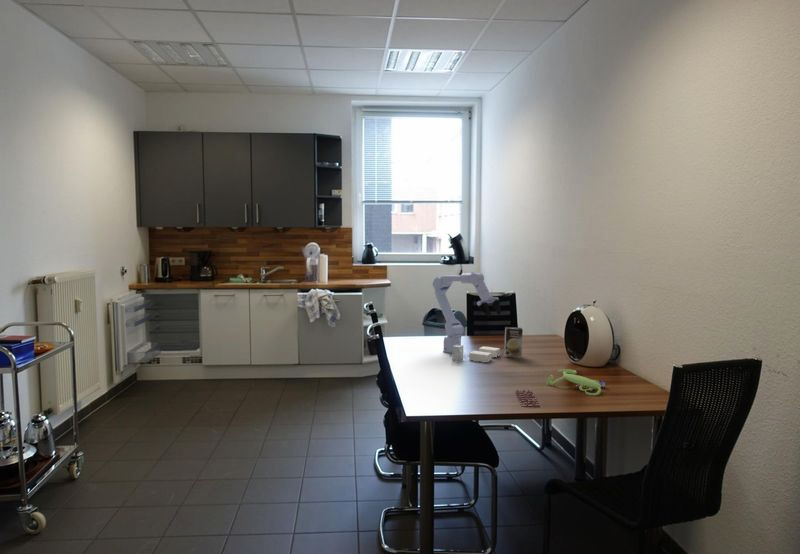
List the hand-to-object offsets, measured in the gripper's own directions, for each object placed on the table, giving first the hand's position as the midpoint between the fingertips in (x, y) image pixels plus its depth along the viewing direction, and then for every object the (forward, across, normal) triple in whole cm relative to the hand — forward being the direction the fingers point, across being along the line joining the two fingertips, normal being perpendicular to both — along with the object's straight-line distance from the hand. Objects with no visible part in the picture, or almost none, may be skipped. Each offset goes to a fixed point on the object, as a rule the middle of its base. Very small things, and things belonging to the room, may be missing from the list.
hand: (494, 315), depth 293 cm
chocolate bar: (+50, -40, -33) cm, 72 cm away
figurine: (+52, -6, -30) cm, 60 cm away
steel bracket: (+13, -18, +22) cm, 31 cm away
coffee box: (+21, +14, +16) cm, 30 cm away
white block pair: (+16, -1, +20) cm, 26 cm away
